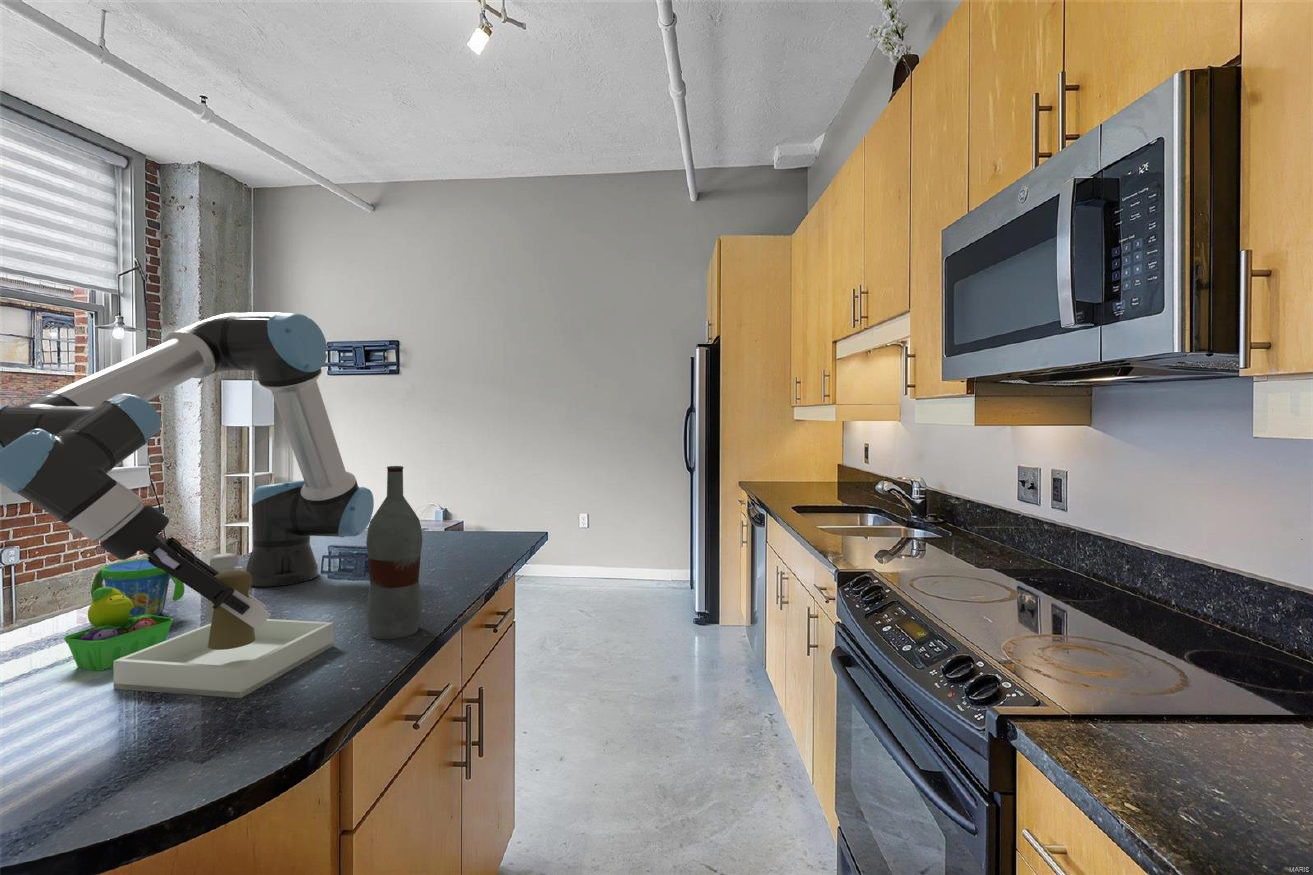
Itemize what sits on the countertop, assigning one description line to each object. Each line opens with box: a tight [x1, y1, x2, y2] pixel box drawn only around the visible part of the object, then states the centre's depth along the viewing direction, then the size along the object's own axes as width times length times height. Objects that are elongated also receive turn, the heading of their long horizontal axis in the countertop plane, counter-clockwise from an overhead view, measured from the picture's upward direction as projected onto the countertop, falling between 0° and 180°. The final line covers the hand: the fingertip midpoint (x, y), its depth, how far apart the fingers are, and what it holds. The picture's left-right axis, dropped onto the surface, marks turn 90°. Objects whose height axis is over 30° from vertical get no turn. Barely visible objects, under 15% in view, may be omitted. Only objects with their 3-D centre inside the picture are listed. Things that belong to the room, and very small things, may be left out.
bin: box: [112, 618, 335, 699], centre depth 94 cm, size 20×20×4 cm
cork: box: [208, 569, 255, 650], centre depth 93 cm, size 6×6×11 cm
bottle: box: [365, 465, 423, 640], centre depth 109 cm, size 9×9×30 cm
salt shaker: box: [204, 552, 239, 624], centre depth 112 cm, size 6×6×13 cm
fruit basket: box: [63, 586, 174, 672], centre depth 96 cm, size 11×9×11 cm
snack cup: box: [90, 558, 185, 618], centre depth 116 cm, size 16×10×10 cm
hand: (260, 616), depth 96 cm, fingers closed on cork, 5 cm apart
